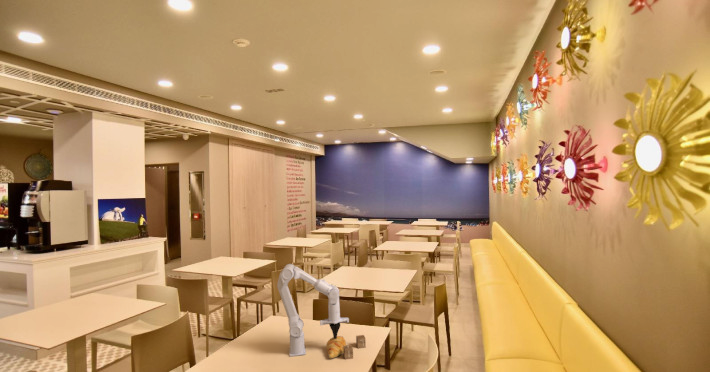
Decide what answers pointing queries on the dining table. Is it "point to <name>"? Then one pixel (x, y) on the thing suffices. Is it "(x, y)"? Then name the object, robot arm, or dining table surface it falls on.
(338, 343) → the croissant
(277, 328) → the dining table surface
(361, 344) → the number block seven
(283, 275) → the robot arm
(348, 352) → the number block one
